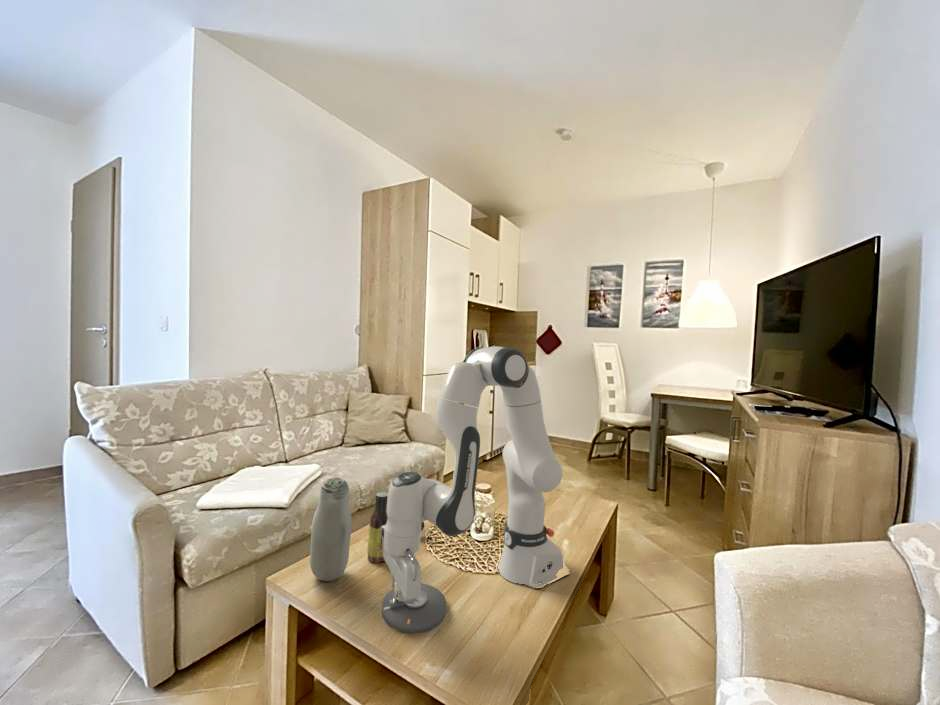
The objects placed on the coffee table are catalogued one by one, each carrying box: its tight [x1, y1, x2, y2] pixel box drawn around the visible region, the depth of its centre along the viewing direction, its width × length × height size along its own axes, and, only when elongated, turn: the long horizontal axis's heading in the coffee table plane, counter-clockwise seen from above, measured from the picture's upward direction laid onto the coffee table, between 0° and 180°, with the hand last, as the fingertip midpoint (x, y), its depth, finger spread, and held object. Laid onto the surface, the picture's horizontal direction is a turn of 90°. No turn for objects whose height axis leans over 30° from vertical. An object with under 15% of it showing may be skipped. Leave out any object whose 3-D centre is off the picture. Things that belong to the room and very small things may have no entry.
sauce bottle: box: [366, 491, 388, 564], centre depth 123 cm, size 7×6×20 cm
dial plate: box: [381, 582, 447, 634], centre depth 102 cm, size 16×16×2 cm
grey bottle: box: [309, 477, 353, 582], centre depth 112 cm, size 10×10×28 cm
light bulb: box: [389, 581, 427, 609], centre depth 101 cm, size 10×6×6 cm, turn 117°
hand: (398, 594), depth 100 cm, fingers closed on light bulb, 2 cm apart
